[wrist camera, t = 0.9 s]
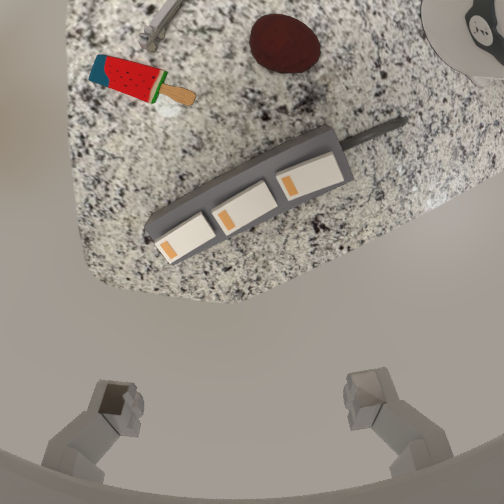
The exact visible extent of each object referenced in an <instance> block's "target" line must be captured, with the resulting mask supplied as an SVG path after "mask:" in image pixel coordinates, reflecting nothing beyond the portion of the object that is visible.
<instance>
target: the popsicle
mask: <svg viewBox="0 0 504 504" xmlns="http://www.w3.org/2000/svg"><path fill="white" fill-rule="evenodd" d="M167 74H168V72H167V71H165V70H161V69H158V68H154V67H151V66H147V65H143V64H140V63H136V62H132V61H128V60H124V59H120V58H115V57H111V56H106V55H97V57H96V59H95V62H94V65H93V67H92V70H91V73H90V76H89V81H92V82H95V83H98V84H100V85H103V86H106V87H109V88H111V89H114V90H117V91H120V92H122V93H125V94H127V95H130V96H133V97H135V98H138V99H140V100H143V101H145V102H148V103H151V104H153V103H155V102H156V100H157V97H158V95H159V93H162V94H165V95H167V96H169V97H170V98H172V99H173V100H175V101H177V102H180V103H182V104H185V105H192V104H193V102H194V100H195V97H196V95H195V93H194V92H192V91H189V90H187V89H184V88H181V87H172V86H169V85H166V84H164V81H165V78H166V76H167Z"/></svg>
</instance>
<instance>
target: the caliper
mask: <svg viewBox="0 0 504 504" xmlns="http://www.w3.org/2000/svg"><path fill="white" fill-rule="evenodd" d="M182 1H183V0H167V2H166V3H165V4H164V6H163V7H162V8H161V9H160V11H159V12H158V13H157V15H156V16H155V18H154V19H153V20H152V22H151V23H150V25H149V26H150V27H149V26H146V25H145V27H144V33H145V34H144V33H140V34H139V36H140V37H141V38H140V40H139V41H138V42H139V44H140V46H141V47H142V48H144V49H147V50H150V51H156V50H157V47H156V45H155V43H154V39H155V38H159V39H161V40H163V39H164V37H165V25H166V24H167V22H168V21H169V20H170V19H171V18H172V17H173V16H174V14H175V13H176V11H177V10H178V9H179V8H180V3H181V2H182Z"/></svg>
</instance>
